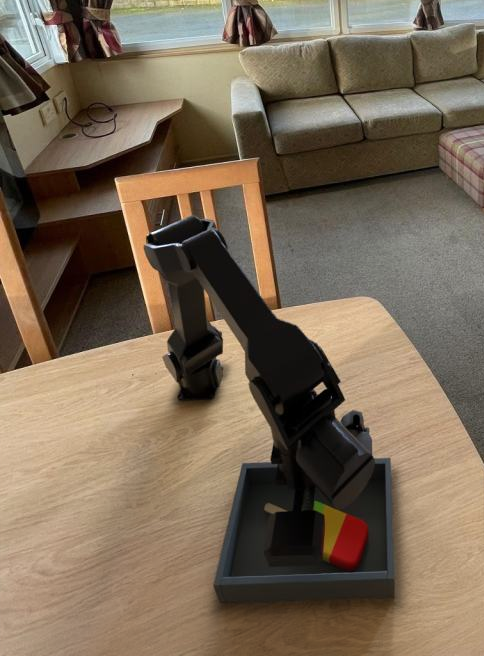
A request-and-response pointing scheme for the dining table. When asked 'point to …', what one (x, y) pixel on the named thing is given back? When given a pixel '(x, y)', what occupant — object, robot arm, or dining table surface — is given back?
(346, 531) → the popsicle
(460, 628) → the dining table surface
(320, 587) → the tub
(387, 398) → the dining table surface
